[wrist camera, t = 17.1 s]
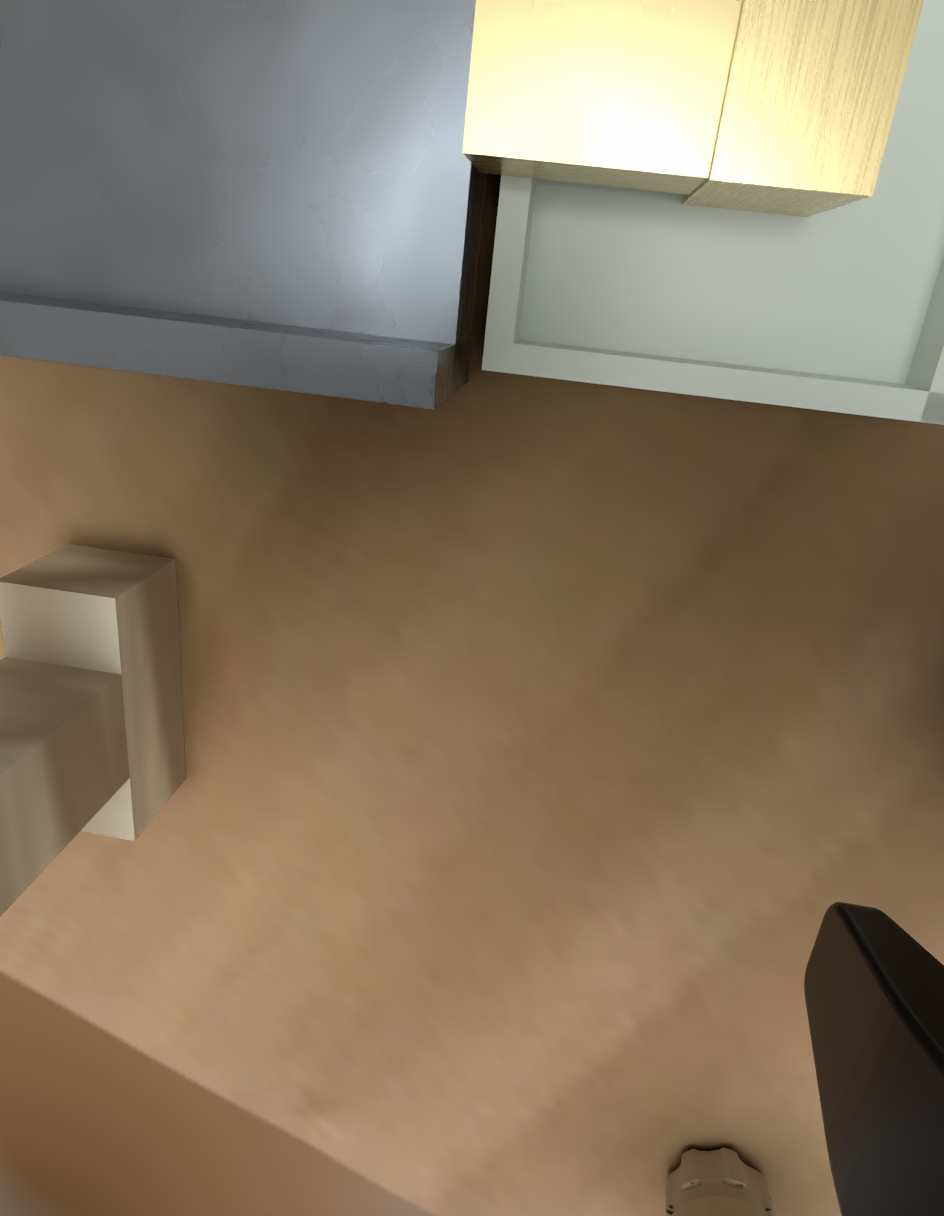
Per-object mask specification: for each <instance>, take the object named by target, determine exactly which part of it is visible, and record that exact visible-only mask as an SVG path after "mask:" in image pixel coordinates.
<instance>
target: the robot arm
mask: <svg viewBox="0 0 944 1216" xmlns="http://www.w3.org/2000/svg"><path fill="white" fill-rule="evenodd" d="M804 989H805V1000H806V1006H807V1013H808V1020H809V1027H810V1034H811V1041H812V1048H813V1054H814V1061H815V1068H816V1075H817V1082H818V1089H819V1095H820V1102H821V1109H822V1116H823V1123H824V1130H825V1137H826V1143H827V1149H828V1154H829V1160H830V1166H831V1171H832V1176H833V1180H834V1185H835V1189H836V1193H837V1198H838V1202H839V1206H840V1210H841V1214H842V1216H944V966H943V965H942V964H941V963H940V962H939V961H938V960H937V959H936V958H934V957H933V956H932V955H931V954H930V953H929V952H928V951H927V950H925V949H924V948H923V947H922V946H921V945H920V944H919V943H918V942H916V941H915V940H914V939H913V938H912V937H911V936H910V935H909V934H907V933H906V932H905V931H904V930H903V929H902V928H901V927H900V926H899V925H897V924H896V923H895V922H894V921H893V920H892V919H891V918H890V917H888V916H887V915H886V914H885V913H883V912H882V911H880V910H878V909H876V908H872V907H866V906H860V905H854V904H848V903H842V902H837V903H834V904H832V905H830V907H829V908H828V909H827V911H826V913H825V915H824V918H823V921H822V924H821V927H820V929H819V932H818V935H817V938H816V941H815V944H814V947H813V950H812V952H811V955H810V958H809V961H808V964H807V967H806V972H805V982H804Z"/></svg>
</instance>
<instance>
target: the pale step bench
mask: <svg viewBox="0 0 944 1216" xmlns="http://www.w3.org/2000/svg"><path fill="white" fill-rule="evenodd" d="M0 619H1V626H2V633H3V640H4V647H5V654H6V657H5V658H3V659H2V660H0V916H1V915H2V914H3V913H4V912H5V911H6V910H7V909H8V908H9V907H10V906H11V905H12V903H13V902H14V901H15V900H16V899H17V898H18V897H19V896H20V895H21V894H22V893H23V892H24V891H25V890H26V888H27V887H28V886H29V885H30V884H31V883H32V882H33V881H34V880H35V879H36V878H37V877H38V876H39V875H40V873H41V872H42V871H43V870H44V869H45V868H46V867H47V866H48V865H49V864H50V863H51V862H52V861H53V860H54V858H55V857H56V856H57V855H58V854H59V853H60V852H61V851H62V850H63V849H64V848H65V847H66V846H67V845H68V844H69V842H70V841H71V840H72V839H73V838H74V837H75V836H76V835H77V834H78V833H79V832H86V833H92V834H98V835H104V836H110V837H115V838H121V839H127V840H133V841H135V840H136V839H137V838H138V836H139V835H140V834H141V833H142V831H143V830H144V829H145V828H146V827H147V825H148V824H149V823H150V822H151V820H152V819H153V818H154V817H155V816H156V814H157V813H158V812H159V811H160V809H161V808H162V807H163V806H164V805H165V803H166V802H167V801H168V800H169V798H170V797H171V796H172V795H173V794H174V792H175V791H176V790H177V789H178V787H179V786H180V785H181V784H182V783H183V781H184V780H185V779H186V765H185V744H184V724H183V703H182V682H181V662H180V641H179V621H178V600H177V580H176V559H174V558H166V557H159V556H152V555H145V554H138V553H130V552H123V551H116V550H109V549H102V548H94V547H87V546H80V545H73V544H69V545H67V546H65V547H63V548H61V549H59V550H57V551H55V552H53V553H51V554H49V555H47V556H45V557H43V558H41V559H39V560H37V561H35V562H33V563H31V564H29V565H27V566H25V567H23V568H21V569H19V570H17V571H15V572H13V573H10V574H8V575H6V576H4V577H2V578H0Z"/></svg>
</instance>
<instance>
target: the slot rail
mask: <svg viewBox="0 0 944 1216" xmlns="http://www.w3.org/2000/svg"><path fill="white" fill-rule="evenodd" d="M475 6H476V0H0V356H8V357H16V358H24V359H32V360H41V361H49V362H57V363H65V364H73V365H81V366H89V367H97V368H105V369H113V370H121V371H129V372H138V373H146V374H154V375H162V376H170V377H178V378H186V379H194V380H202V381H210V382H218V383H226V384H235V385H243V386H251V387H259V388H267V389H275V390H283V391H291V392H299V393H307V394H315V395H323V396H332V397H340V398H348V399H356V400H364V401H372V402H380V403H388V404H396V405H404V406H412V407H420V408H429V409H434V408H435V407H437V406H438V405H439V404H441V403H442V402H443V401H444V400H446V399H447V398H448V397H449V396H451V395H452V394H453V393H455V392H456V391H457V390H458V389H460V388H461V387H462V386H463V385H465V384H466V383H467V382H468V372H469V361H470V351H471V340H472V330H473V319H474V309H475V298H476V288H477V277H478V267H479V256H480V246H481V235H482V225H483V214H484V204H485V194H486V183H487V174H486V173H480V172H479V171H478V170H477V169H476V167H475V166H474V165H473V164H472V163H471V162H470V161H469V160H468V159H467V157H466V156H465V155H464V154H463V142H464V130H465V119H466V108H467V96H468V85H469V74H470V62H471V51H472V40H473V28H474V17H475Z"/></svg>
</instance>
